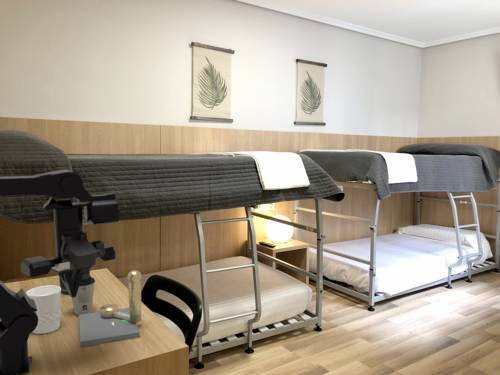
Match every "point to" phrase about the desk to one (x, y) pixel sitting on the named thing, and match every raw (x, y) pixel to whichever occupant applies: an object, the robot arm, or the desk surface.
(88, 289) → the coffee cup
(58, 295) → the white cup
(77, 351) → the desk surface
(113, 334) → the gray board
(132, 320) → the brass crank handle
